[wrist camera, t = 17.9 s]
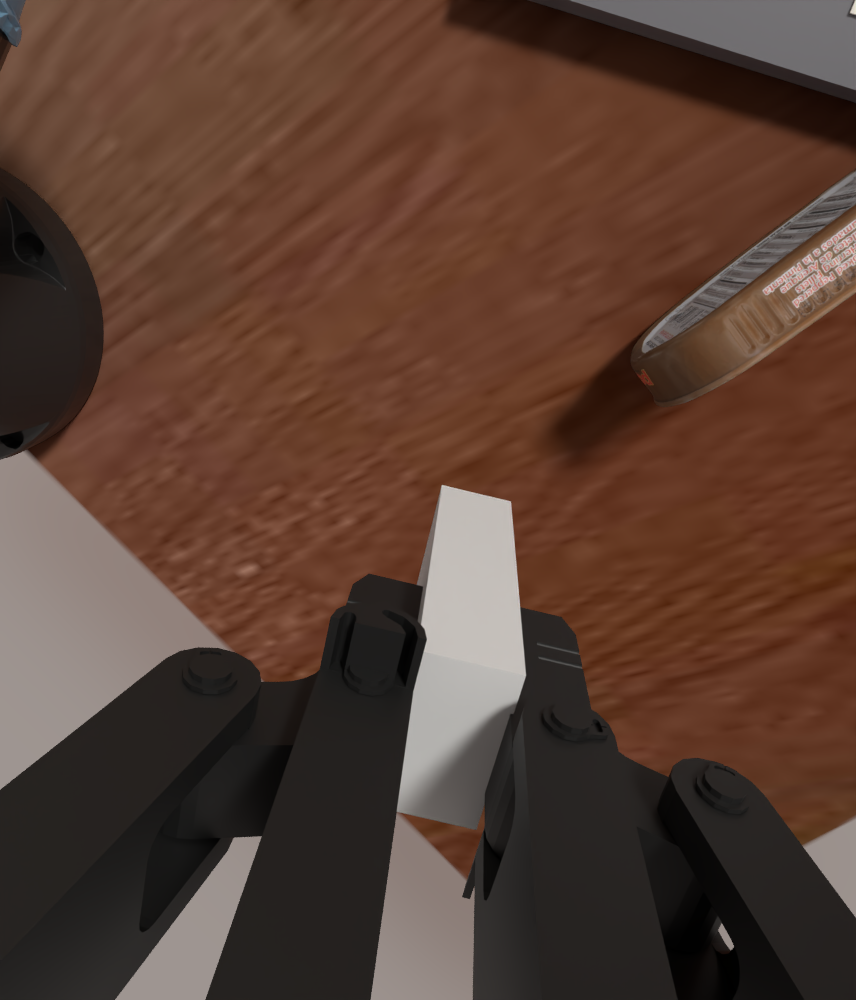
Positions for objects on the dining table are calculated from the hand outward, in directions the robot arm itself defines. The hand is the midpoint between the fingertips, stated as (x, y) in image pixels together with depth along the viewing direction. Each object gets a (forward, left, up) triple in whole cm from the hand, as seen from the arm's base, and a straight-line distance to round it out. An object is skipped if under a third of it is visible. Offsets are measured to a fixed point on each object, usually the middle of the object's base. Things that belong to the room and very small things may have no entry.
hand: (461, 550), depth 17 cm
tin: (+11, +8, -24) cm, 27 cm away
